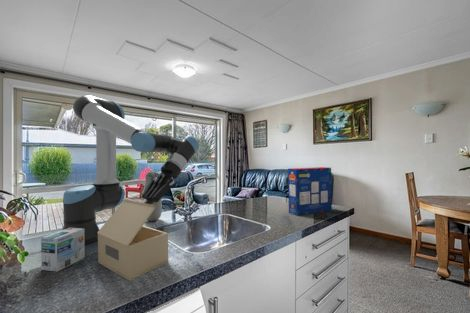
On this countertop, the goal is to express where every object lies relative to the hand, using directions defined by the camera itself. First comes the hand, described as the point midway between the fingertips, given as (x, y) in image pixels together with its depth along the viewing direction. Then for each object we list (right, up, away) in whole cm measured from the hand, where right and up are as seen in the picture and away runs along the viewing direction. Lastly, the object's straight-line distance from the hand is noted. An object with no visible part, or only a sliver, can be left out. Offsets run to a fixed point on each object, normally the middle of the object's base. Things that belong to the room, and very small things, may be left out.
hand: (136, 216), depth 78 cm
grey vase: (-12, -16, +50) cm, 53 cm away
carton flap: (-2, -1, -3) cm, 3 cm away
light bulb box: (-24, -16, -1) cm, 29 cm away
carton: (-1, -16, -1) cm, 16 cm away
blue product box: (+83, -15, +65) cm, 107 cm away
